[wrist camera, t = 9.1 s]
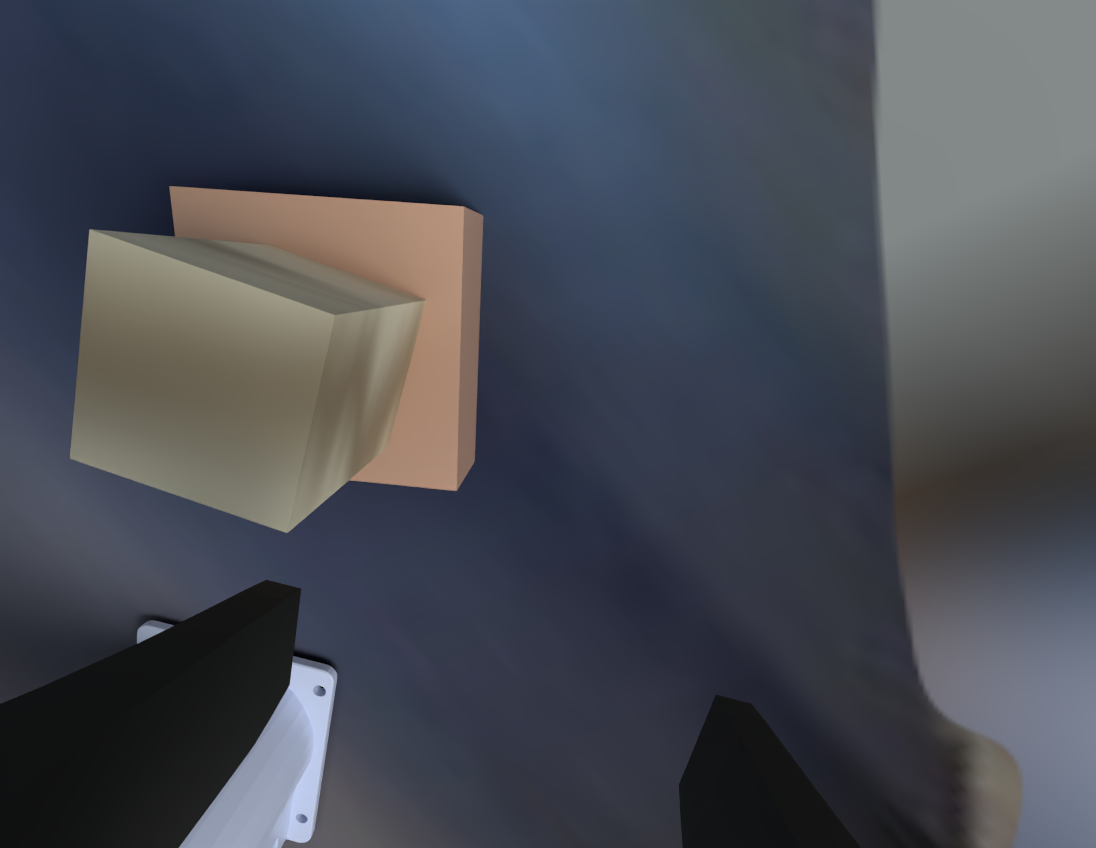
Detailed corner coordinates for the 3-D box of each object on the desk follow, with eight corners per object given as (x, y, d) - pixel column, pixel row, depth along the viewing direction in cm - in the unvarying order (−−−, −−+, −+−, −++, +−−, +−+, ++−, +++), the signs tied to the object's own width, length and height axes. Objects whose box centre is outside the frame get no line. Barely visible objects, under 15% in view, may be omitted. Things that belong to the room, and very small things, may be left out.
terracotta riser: (477, 457, 19) (456, 491, 16) (259, 436, 20) (202, 465, 17) (485, 216, 17) (463, 206, 14) (239, 199, 17) (169, 186, 14)
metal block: (387, 447, 16) (287, 533, 11) (242, 397, 16) (70, 458, 11) (426, 300, 15) (335, 315, 9) (269, 245, 15) (89, 229, 9)
